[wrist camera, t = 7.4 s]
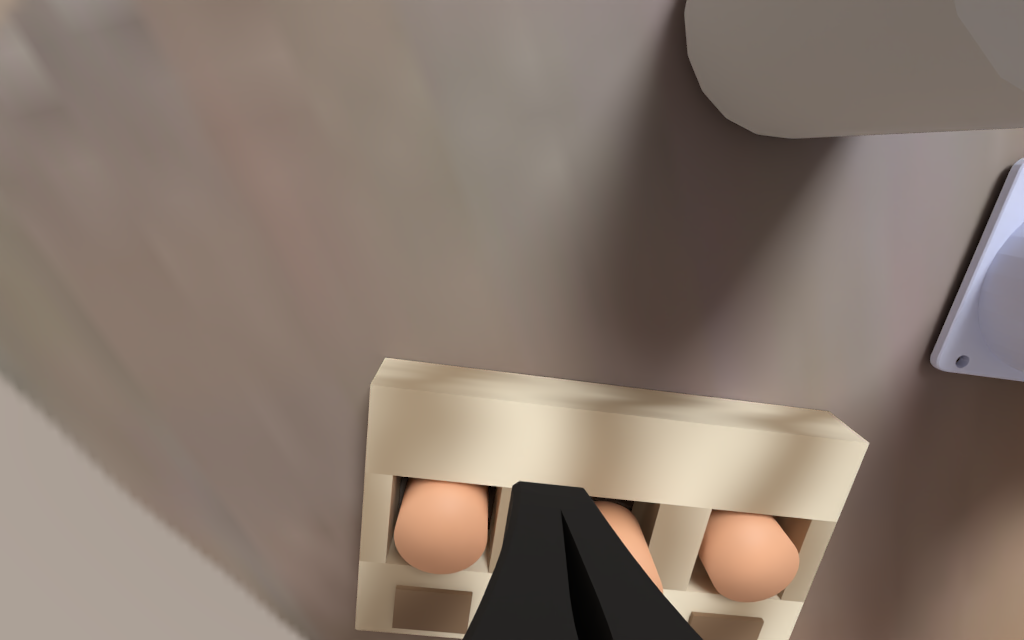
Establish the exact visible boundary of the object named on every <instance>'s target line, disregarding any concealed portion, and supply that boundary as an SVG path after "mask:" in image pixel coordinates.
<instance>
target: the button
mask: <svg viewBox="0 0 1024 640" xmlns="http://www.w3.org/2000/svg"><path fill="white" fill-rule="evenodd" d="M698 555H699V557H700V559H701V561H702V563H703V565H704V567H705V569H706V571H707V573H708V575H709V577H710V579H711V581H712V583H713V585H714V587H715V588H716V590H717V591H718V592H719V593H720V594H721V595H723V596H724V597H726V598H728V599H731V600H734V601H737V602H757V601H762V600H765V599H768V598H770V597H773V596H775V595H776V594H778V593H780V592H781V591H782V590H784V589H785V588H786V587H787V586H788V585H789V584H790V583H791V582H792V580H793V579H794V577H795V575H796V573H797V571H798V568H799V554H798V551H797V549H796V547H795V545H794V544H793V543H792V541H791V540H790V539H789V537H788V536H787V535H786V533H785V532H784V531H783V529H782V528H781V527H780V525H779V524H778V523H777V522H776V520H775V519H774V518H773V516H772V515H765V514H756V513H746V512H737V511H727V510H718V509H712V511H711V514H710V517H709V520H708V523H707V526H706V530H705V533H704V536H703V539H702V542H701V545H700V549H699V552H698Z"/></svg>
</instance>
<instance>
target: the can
mask: <svg viewBox="0 0 1024 640" xmlns="http://www.w3.org/2000/svg"><path fill="white" fill-rule="evenodd" d="M684 17H685V28H686V40H687V52H688V57H689V60H690V62H691V65H692V67H693V69H694V72H695V74H696V77H697V79H698V82H699V84H700V87H701V89H702V91H703V93H704V94H705V95H706V96H707V97H708V98H709V99H710V101H711V102H712V103H713V104H714V105H715V106H716V107H717V109H718V110H719V111H720V112H721V113H722V114H723V115H724V116H725V118H727V119H728V120H730V121H732V122H734V123H736V124H738V125H740V126H742V127H744V128H745V129H747V130H749V131H751V132H753V133H755V134H757V135H765V136H773V137H781V138H789V139H797V138H818V137H839V136H861V135H882V134H903V133H924V132H946V131H967V130H988V129H1009V128H1024V0H687V1H686V6H685V12H684Z"/></svg>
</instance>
